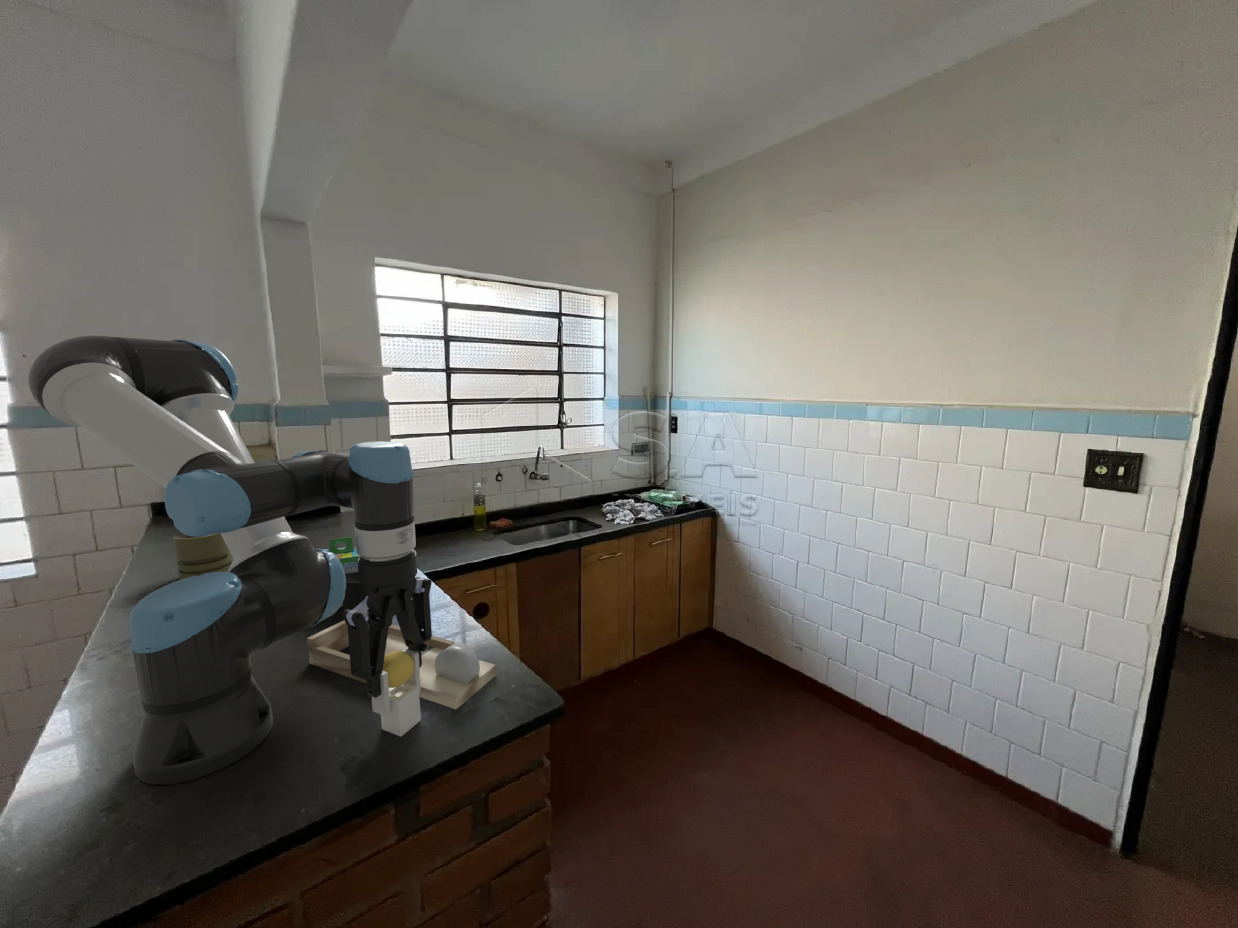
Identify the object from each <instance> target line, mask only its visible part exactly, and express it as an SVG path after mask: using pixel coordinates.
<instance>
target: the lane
mask: <svg viewBox="0 0 1238 928" xmlns="http://www.w3.org/2000/svg"><path fill="white" fill-rule="evenodd" d="M368 612H369V611H367V613H366V615H367V617H368ZM366 622H367V621H366ZM367 625H368V630H369V624H368V622H367ZM306 642H307V651H308V652H307V653H308V658H309V659H308V660H309V661H308V662H309V664H310V665H312V666H315V667H318V668H321V669H323V670H325V671H326V670H327V671H329V672H333V673H335V674H337V675H341V676H343V677H346V678H350V679H352V680H355V681H358V682H360V683H364V684H366V680H363V679H361V678H358V677H355V676H353V675H351V666H350V654H349V653H348V654H347V653H345V652H342V651H343V650H345V649H347V648H349V640H348V626H347V624H346V622H345V620H344V619H343V620H341V621H340V622H338V623H336V624H334V625H331V626H329V627H328V628H324V629H323V630H321V631H319V632H316V633H315V634H313V635H310V636H308V637H307V638H306ZM454 643H456V642H455V641H454V640H450V639H446V638H442V637H439V636H436V635H432V637H431V639H430V640H429V641H425V642H424V644H426V645H427V648H426V650H425V651H424V652H422V651H421V655H422V657H421V658H422V665H421V667H420V668H419V669H420V686H421V691H420V692H419V698H422V699H424V700H427V701H430V702H433V703H436V704H438V705H442V706H445V707H447V708H450V709H452V710H458V709H459V708H460V707H461V706H462V705H464V703H465V702H467V701H468V700H469V699H470V698H472V696H474V695H475V694H477V692H479V690H481V689H482V688H483V687H484V686H485V685H487V684H488V683H489V682H490V681H491V680H493V679H494V677H496V676H497V668H496V667H497V665H496V664H494V663H491V662H487V661H484V660H480V659H478V660H479V664H480V671H479V674H478V675H477V676H476V677H475V678H473V679H472V680H471V681H470V682H469V683H467V684H464V683H461V682H458V681H454V680H451V679H448V678H445V677H442V676H439V675H437V674H436V671H435V659H436V657H437V655H438V654H439V653H441V652H442V651H443V650H445V649H446V648H448V647H449V646H451V645H452V644H454ZM405 648H406V649H408V647H406V645H405V642H404V639H403V636H402V633H401V630H400V627H399V625H395V624H392V625H391V626H390V627H389V629H388V636H387V643H386V650H385V655H387V654H388V653H390V652H394V651H402V650H403V649H405Z"/></svg>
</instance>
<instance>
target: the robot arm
mask: <svg viewBox="0 0 1238 928" xmlns="http://www.w3.org/2000/svg"><path fill="white" fill-rule="evenodd" d="M236 380H238V376H237V373H236V371H235V369H234V366H233V364H232V362H231V361H230V360H229V359H228V358H227V356H226V355H225V354H224V353H223V352H222V351H220V350H219V349H218V348H216V347H215V346H213V345H210V344H208V343H203V342H197V341H194V342H193V341H190V340H186V339H172V340H163V339H148V338H138V337H137V338H136V337H135V338H134V337H124V336H123V337H121V336H107V335H86V336H85V335H83V336H76V337H72V338H68V339H64V340H61V341H60V342H58V343H55V344H53V345H51V346H50V347H48V348H46V349H45V350H44V351H42V352H41V353H40V354H39V355H38V356H37V357H36V358H35V359H34V362H33V363H32V365H31V367H30V369H29V373H28V387H29V390H30V393H31V395H32V397H33V399H34V400H35V401H36V403H37V404H38V405H39V406H40V408H42V409H43V410H45V412H46V413H48V414H49V415H50V416H52V417H53V418H54V419H56V420H58V421H59V422H62V423H63V424H66V425H68V426H71V427H76V428H83V429H84V430H86V431H87V432H88V433H89V434H91V435H92V436H94V437H95V438H96V439H98V441H100V442H102V443H103V444H104V445H105V446H107V447H109V448H110V449H111V450H113V452H115V453H116V454H118V455H119V456H121V457H122V458H124V460H126V461H127V462H128V463H130V464H131V465H133V466H134V467H135V468H137V469H138V470H140V471H141V472H142V473H143V474H144V475H146V476H148V477H149V478H150V479H152V480H153V481H154V482H156V483H157V484H158V485H159V486H161V487H162V488H164V497H163V499H164V500H163V501H164V507H165V511H166V514H167V515H168V518H169V519H171V520H172V521H173V526H174V527H175V528H176V529H177V530H178V531H179V532H180V533H182V534H183V535H184V534H185V535H188V536H193V537H202V536H207V535H212V534H216V533H220V534H221V536H222V537H223V539H224V541H225V543H226V545H227V547H228V549H229V551H230V552H231V554H232V556H233V562H232V564H231V566H230V567H229V569H228V572H210V573H205V574H203V575H200V576H191V577H188V578H184V579H181V580H180V579H179V580H176V581H173V582H171V583H168V584H167V585H163V586H162V587H160V588H158V589H156V590H153V591H151V592H150V593H149V594H147V595H146V596H144V597H143V598H141V599H140V600H139V601H138V602H137V604H135V606H134V607H132V610H131V611H130V614H129V616H128V626H129V639H128V645H129V649H130V650H131V652H132V656H133V661H134V662H133V663H134V666H135V671H136V673H135V674H136V677H137V678H136V679H137V683H138V689H139V694H140V700H141V705H142V710H143V711H142V712H143V713H142V717H141V721H140V725H139V728H138V733H137V736H136V740H135V744H134V747H133V752H132V765H133V769H134V770H133V771H134V775H135V774H136V775H135V777H136V776H137V777H138V778H139V779H140V780H143V781H145V782H149V783H152V784H151V785H153V784H158V785H157V786H162V785H163V784H165V785H174V784H179V783H185V782H190V781H193V780H196V779H199V778H203V777H205V776H207V775H210V774H212V773H215V772H217V771H219V770H222V769H224V768H226V767H227V766H230V765H231V764H233V763H235V762H237V761H238V760H239V761H240V759H242V758H244V757H245V756H246V755H248V754H249V753H251V752H252V751H253V750H254V749H256V748H257V747H258V746H259V745H260V744H261V743H263V741H264V740H265V739H266V738H267V737H268V735H269V734H270V732H271V730H272V728H273V724H274V717H273V709H272V705H271V703H270V702H269V701H270V700H268V699H267V697H266V696H265V694H264V692H263V691H262V689H261V688H260V686H259V685H258V682H256V679H254V677H253V672H252V663H251V656H252V655H254V654H256V653H258V652H260V651H262V650H264V649H266V648H269V647H272V646H273V645H275V644H277V643H279V642H281V641H283V640H285V639H287V638H290V637H291V636H294V635H296V634H298V633H300V632H302V631H304V630H306V629H308V628H310V629H311V628H313V627H316V625H318V624H319V623H320V622H322V621H324V620H326V619H327V618H330V617H331V616H333V615H334V614H335V613H337V611H338V610H339V609H340V606H341V604H342V602H343V600H344V597H345V590H346V578H345V573H344V570H343V567H342V564H341V562H340V561H339V559H338V558H337V556H336V555H335V554H334V553H330V551H329V550H330V549H326V548H314V546H313V545H312V543H311V541H310V539H309V538H308V537H307V536H305V535H300V534H297V533H295V532H293V531H292V528H291V527H290V525H289V522H288V521H287V520H286V518H285V517H289V516H293V515H298V514H302V513H306V512H310V511H313V510H316V509H317V510H318V509H322V508H325V507H331V506H336V507H341V508H342V507H343V508H350V509H353V514H354V530H355V531H354V532H355V546H356V549H357V553H358V555H360V557H359V558H358V570H359V581H360V583H361V585H362V588H363V593H362V596H361V603H360V604H359V605H357V606H356V607H355V608H354V609H353V610H348V609H347V610H345V611H344V610H343V612H342V618H343V621H344V620H345V622H346V624H347V626H348V640H349V647H348V651H349V653H348V654H349V655H350V666H351V675H353V676H355V677H358V678H361V679H363V680H366V683H365V684H366V694H367V695H368V696H370V697H371V705H372V712H374V713H376V714H378V715H380V716H381V715H383V716H385V717H387V716H388V715H389V714H391V712H390V698H389V684H388V672H385V671H383V664H384V657H385V650H386V643H387V636H388V629H389V627H390V626H391V625H393V618H394V616H395V617H396V620H397V624H398V626H399V627H400V630H401V633H402V636H403V639H404V642H405V645H406V647H408V649H406V648H405V649H403V650H402V652H405V653H407V654H408V655H409V656H410V657H411V658H412V660H413V664H414V669H413V673H412V675H411V677H410V679H409V680H408V681H407V682H406V683H408V684H411V685H414V686H417V687H419V692H420V691H421V686H420V669H419V668H420V667H421V665H422V658H421V657H422V655H421V651H422V652H424V651H425V650H426V648H427V645H426V644H424V642H425V641H429V640H430V639H431V637H432V636H433V632H432V631H433V630H432V616H431V601H430V594H431V588H432V583H433V582H432V580H431V579H429V578H424V577H420V576H417V574H418V557H417V555H418V554H417V551H416V550H415V548H416V545H417V544H416V527H415V525H416V524H415V508H414V491H413V490H414V489H413V486H414V485H413V484H414V483H413V482H414V481H413V477H414V471H413V468H412V467H413V466H412V461H411V453H410V449H409V447H408V446H407V444H404V443H403V442H400V441H399V442H398V441H381V440H380V441H368V442H367V441H366V442H360V443H356V444H353V445H352V446H351V447H350V449H349V453H342V452H341V453H339V452H333V451H328V450H325V449H323V450H322V449H319V450H305V451H301V452H298V453H296V454H294V455H293V456H292V457H289V458H283V459H280V458H279V459H273V460H266V461H258V462H255V460H254V459H253V457H252V455H251V454H250V453H251V452H250V451H249V450H248V448H247V446H246V444H245V442H244V440H243V439H242V437H241V434H240V433H239V431H238V430H237V428H236V426H235V424H234V422H233V421H232V420H233V419H231V417H230V416H231V414H232V412H233V410H234V408H235V402H236V400H237V398H238V395H239V394H238V393H239V384H238V383H237V382H236ZM367 610H368V611H369V612H368V617H367V615H366V613H367ZM366 621H367V622H368V624H369V630H368V625H367V622H366ZM137 777H136V778H137ZM138 778H137V779H138ZM139 779H138V780H139ZM140 780H139V781H140ZM159 784H161V785H159ZM165 785H164V786H165Z"/></svg>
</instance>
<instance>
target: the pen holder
mask: <svg viewBox="0 0 1238 928" xmlns="http://www.w3.org/2000/svg"><path fill="white" fill-rule="evenodd" d="M345 578H346V590H345V597H344V600H343V602H342V603H343V607H342V609H343V612H344V611H345V610H347V609H348V610H353V609H354V608H355V607H356V606H357V605H359V604H360V603H361V596H362V593H363V588H362V585H361V583H360V581H359V571H357V572H354V573H345ZM367 611H368V610H367Z"/></svg>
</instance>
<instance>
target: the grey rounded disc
mask: <svg viewBox="0 0 1238 928" xmlns="http://www.w3.org/2000/svg"><path fill="white" fill-rule="evenodd" d="M479 660H480V659H479V658H478V655H477V653H476V652H475V651H474V650H473V649H472V647H470V646H469V645H467V644H466V643H464V642H455V643H454V644H452V645H451V646H449V647H448V648H446V649H445V650H443V651H442V652H441V653H439V654H438V655H437V657H436V659H435V671H436V674H437V675H439V676H442V677H445V678H448V679H451V680H454V681H458V682H461V683H464V684H467V683H469V682H470V681H471V680H472V679H473V678H475V677H476V676H477V675H478V674H479V671H480V664H479Z"/></svg>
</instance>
